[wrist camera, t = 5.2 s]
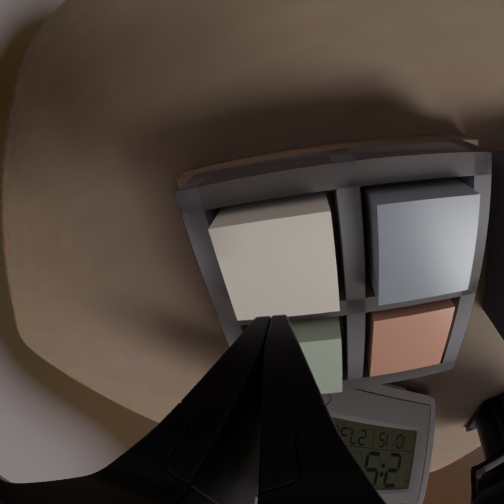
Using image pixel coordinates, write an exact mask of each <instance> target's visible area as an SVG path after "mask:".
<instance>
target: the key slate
mask: <svg viewBox="0 0 504 504" xmlns="http://www.w3.org/2000/svg"><path fill="white" fill-rule="evenodd" d="M363 190H364V201H365V213H366V228H367V247H368V274H369V277H370V281H371V284H372V287H373V290H374V293H375V296H376V300H377V303H378V306H379V305H386V304H392V303H399V302H405V301H411V300H417V299H422V298H428V297H433V296H439V295H444V294H449V293H454V292H459V291H464V290H468V286H469V281H470V276H471V270H472V265H473V259H474V252H475V245H476V238H477V229H478V219H479V207H480V194H479V193H478V192H476V191H475V190H474V189H472V188H471V187H469V186H468V185H466V184H465V183H463V182H462V181H460V180H459V179H457V178H455V177H448V178H436V179H424V180H413V181H403V182H394V183H384V184H375V185H367V186H363Z"/></svg>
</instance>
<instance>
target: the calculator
mask: <svg viewBox="0 0 504 504" xmlns="http://www.w3.org/2000/svg"><path fill="white" fill-rule="evenodd" d="M483 310H484V311H485V313H486V314H487V316H488V317H489V319H490V320H491V322H492V323H493V325H494V326H495V328H496V329H497V331H498V332H499V334H500V335H501V337H502V338H503V340H504V151H500V152H496V153H492V175H491V197H490V210H489V220H488V229H487V269H486V283H485V294H484V303H483Z"/></svg>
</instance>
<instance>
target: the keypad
mask: <svg viewBox="0 0 504 504" xmlns="http://www.w3.org/2000/svg"><path fill="white" fill-rule="evenodd" d="M491 175H492V152H491V151H489V150H486V149H484V148H482V147H479V146H478V139H475V138H472V137H469V136H466V135H463V134H453V135H423V136H406V137H392V138H380V139H369V140H359V141H350V142H342V143H334V144H326V145H319V146H312V147H305V148H298V149H292V150H286V151H280V152H274V153H269V154H263V155H258V156H252V157H247V158H242V159H237V160H233V161H228V162H223V163H219V164H214V165H210V166H205V167H201V168H197V169H193V170H188V171H186V172H185V173H183V174H182V175H180V176H179V177H178V178H176V179H175V180H176V183H177V186H178V190H177V191H175V195H176V199H177V202H178V205H179V208H180V211H181V214H182V217H183V220H184V223H185V226H186V229H187V232H188V235H189V238H190V241H191V244H192V247H193V250H194V253H195V256H196V259H197V261H198V264H199V267H200V270H201V273H202V276H203V278H204V281H205V284H206V287H207V289H208V292H209V295H210V298H211V300H212V303H213V306H214V308H215V311H216V314H217V316H218V319H219V321H220V324H221V327H222V329H223V332H224V334H225V337H226V339H227V342H228V345H229V347H230V346H231V345H232V344H233V343H234V342H235V341H236V339H237V338H238V337H239V336H240V335H241V334H242V333H243V331H244V330H245V329H246V328H247V327H248V326H249V324H250V323H251V322H252V321H253V320H240V321H237V318H236V315H235V312H234V309H233V306H232V303H231V300H230V297H229V294H228V291H227V288H226V285H225V281H224V278H223V275H222V272H221V269H220V266H219V263H218V260H217V257H216V253H215V250H214V247H213V244H212V241H211V237H210V234H209V231H208V229H209V227H210V225H211V224H212V222H213V221H214V219H215V218H216V216H217V214H218V213H219V211H220V210H221V208H222V207H225V206H231V205H237V204H243V203H248V202H254V201H260V200H267V199H273V198H279V197H286V196H292V195H299V194H306V193H313V192H320V191H325V193H326V197H327V200H328V204H329V207H330V211H331V219H332V227H333V236H334V245H335V255H336V266H337V277H338V290H339V304H340V311H335V312H327V313H318V314H309V315H299V316H289V317H288V319H289V321H299V320H309V319H319V318H327V317H336V316H339V323H340V332H341V344H342V390H343V389H351V388H359V387H366V386H373V385H380V384H386V383H392V382H397V381H403V380H408V379H413V378H418V377H422V376H427V375H431V374H436V373H440V372H444V371H448V370H452V369H453V366H454V364H455V361H456V358H457V356H458V353H459V350H460V347H461V344H462V341H463V338H464V335H465V332H466V328H467V325H468V322H469V318H470V315H471V311H472V307H473V303H474V299H475V295H476V291H477V287H478V282H479V277H480V272H481V267H482V262H483V256H484V250H485V244H486V237H487V229H488V220H489V210H490V197H491ZM448 177H455V178H457V179H459V180H460V181H462V182H463V183H465V184H466V185H468V186H469V187H471V188H472V189H474V190H475V191H476V192H478V193H479V194H480V207H479V219H478V229H477V238H476V245H475V252H474V259H473V265H472V270H471V276H470V281H469V286H468V290H464V291H459V292H454V293H449V294H444V295H439V296H433V297H428V298H422V299H417V300H411V301H405V302H399V303H392V304H386V305H379V306H378V303H377V300H376V296H375V293H374V290H373V287H372V284H371V281H370V277H369V274H368V247H367V228H366V213H365V201H364V190H363V186H367V185H375V184H384V183H394V182H403V181H413V180H424V179H436V178H448ZM449 298H451V300H452V302H453V304H454V306H455V310H454V314H453V318H452V322H451V326H450V330H449V334H448V337H447V341H446V344H445V348H444V351H443V354H442V357H441V361H440V364H435V365H431V366H426V367H422V368H417V369H412V370H407V371H401V372H396V373H390V374H384V375H378V376H371V377H370V374H369V368H368V362H367V356H366V350H365V327H366V312H373V311H380V310H387V309H393V308H399V307H405V306H411V305H417V304H423V303H428V302H433V301H439V300H444V299H449Z"/></svg>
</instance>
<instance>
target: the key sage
mask: <svg viewBox="0 0 504 504" xmlns="http://www.w3.org/2000/svg"><path fill="white" fill-rule="evenodd" d="M289 322H290V324H291V326H292V328H293V331H294V333H295V335H296V337H297V340H298V342H299V344H300V347H301V349H302V351H303V353H304V356H305V358H306V360H307V363H308V365H309V367H310V369H311V372H312V374H313V376H314V379H315V381H316V383H317V385H318V388H319V390H320V392H321V394H327V393H337V392H342V344H341V332H340V323H339V316H336V317H327V318H319V319H309V320H299V321H289Z"/></svg>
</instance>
